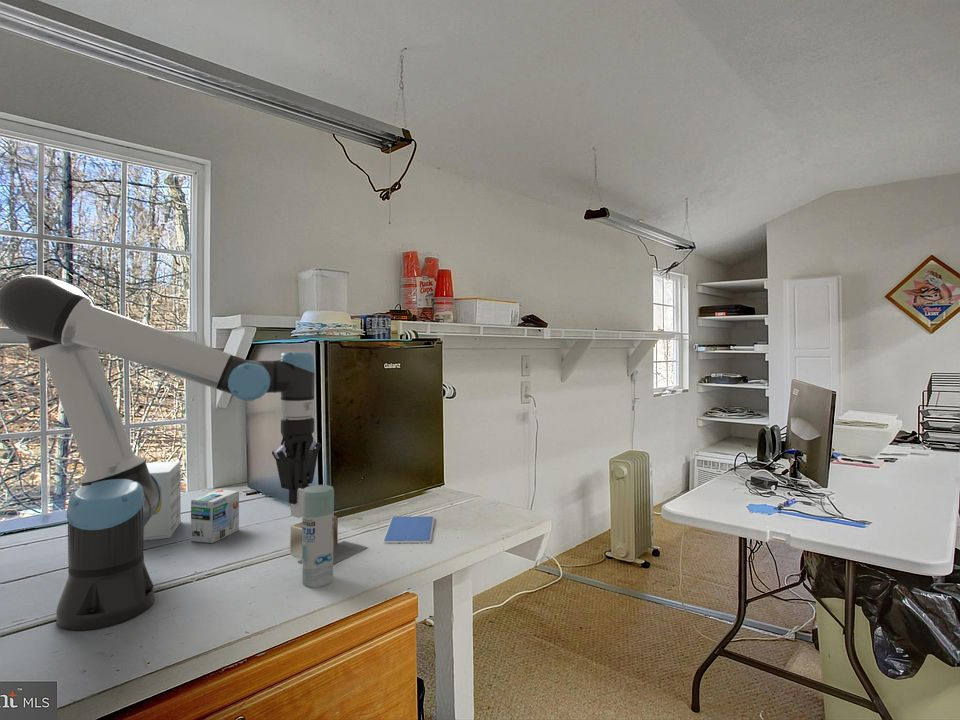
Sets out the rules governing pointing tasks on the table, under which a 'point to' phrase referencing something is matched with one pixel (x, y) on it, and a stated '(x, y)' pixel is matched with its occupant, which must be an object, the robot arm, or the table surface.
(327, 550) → the spray paint can
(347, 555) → the mat
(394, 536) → the tablet computer
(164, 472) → the supplement box
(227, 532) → the light bulb box
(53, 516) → the table surface
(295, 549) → the walnut block
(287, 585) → the table surface
